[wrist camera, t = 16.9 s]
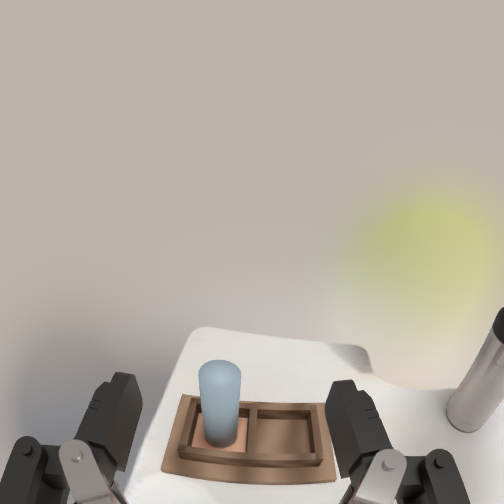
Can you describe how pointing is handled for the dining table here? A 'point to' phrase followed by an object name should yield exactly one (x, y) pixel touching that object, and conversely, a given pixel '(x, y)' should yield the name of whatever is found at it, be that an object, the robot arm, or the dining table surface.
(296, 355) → the dining table surface
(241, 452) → the slot rack
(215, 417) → the slate peg
